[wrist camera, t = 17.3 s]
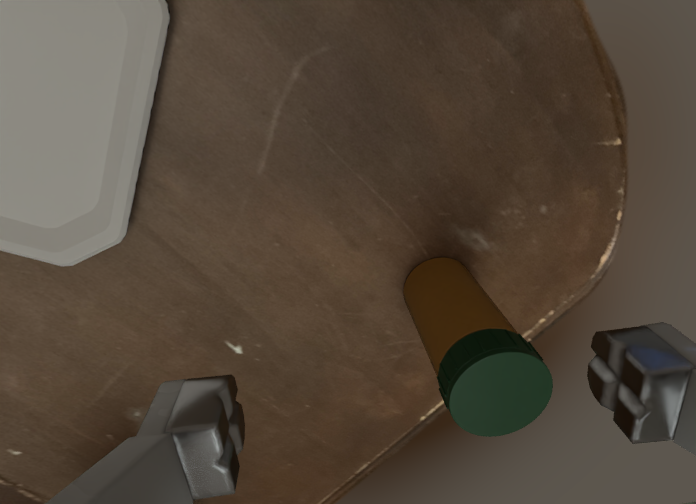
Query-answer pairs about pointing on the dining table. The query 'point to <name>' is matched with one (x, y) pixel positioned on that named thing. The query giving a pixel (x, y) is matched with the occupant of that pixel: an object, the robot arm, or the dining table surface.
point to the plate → (74, 121)
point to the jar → (448, 306)
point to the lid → (494, 382)
